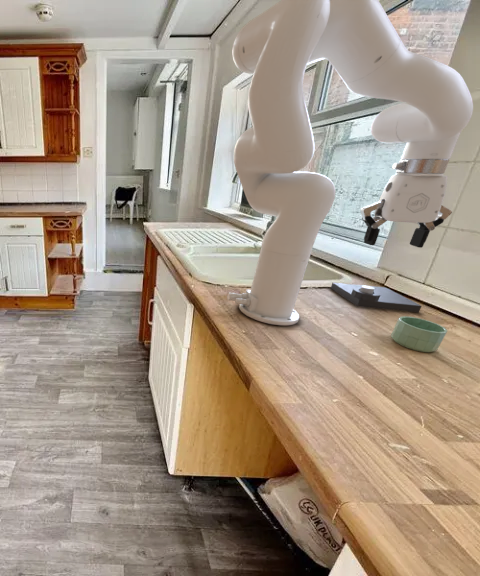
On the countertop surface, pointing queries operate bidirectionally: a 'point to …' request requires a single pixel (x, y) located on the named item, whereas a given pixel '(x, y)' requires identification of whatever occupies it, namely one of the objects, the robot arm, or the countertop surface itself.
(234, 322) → the countertop surface
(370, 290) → the tare button
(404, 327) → the bowl
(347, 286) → the scale
